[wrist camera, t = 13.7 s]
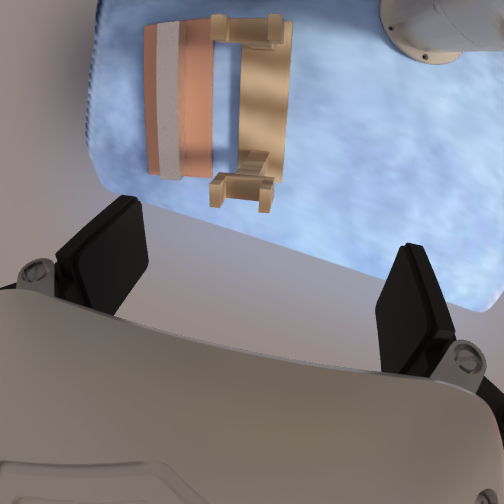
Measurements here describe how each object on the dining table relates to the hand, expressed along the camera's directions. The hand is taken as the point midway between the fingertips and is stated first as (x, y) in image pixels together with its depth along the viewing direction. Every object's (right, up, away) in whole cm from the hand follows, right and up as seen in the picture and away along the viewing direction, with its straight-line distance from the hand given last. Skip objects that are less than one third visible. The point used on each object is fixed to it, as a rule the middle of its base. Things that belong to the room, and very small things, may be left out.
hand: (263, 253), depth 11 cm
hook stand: (+1, +20, +26) cm, 32 cm away
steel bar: (-11, +21, +27) cm, 35 cm away
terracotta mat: (-11, +21, +27) cm, 36 cm away
